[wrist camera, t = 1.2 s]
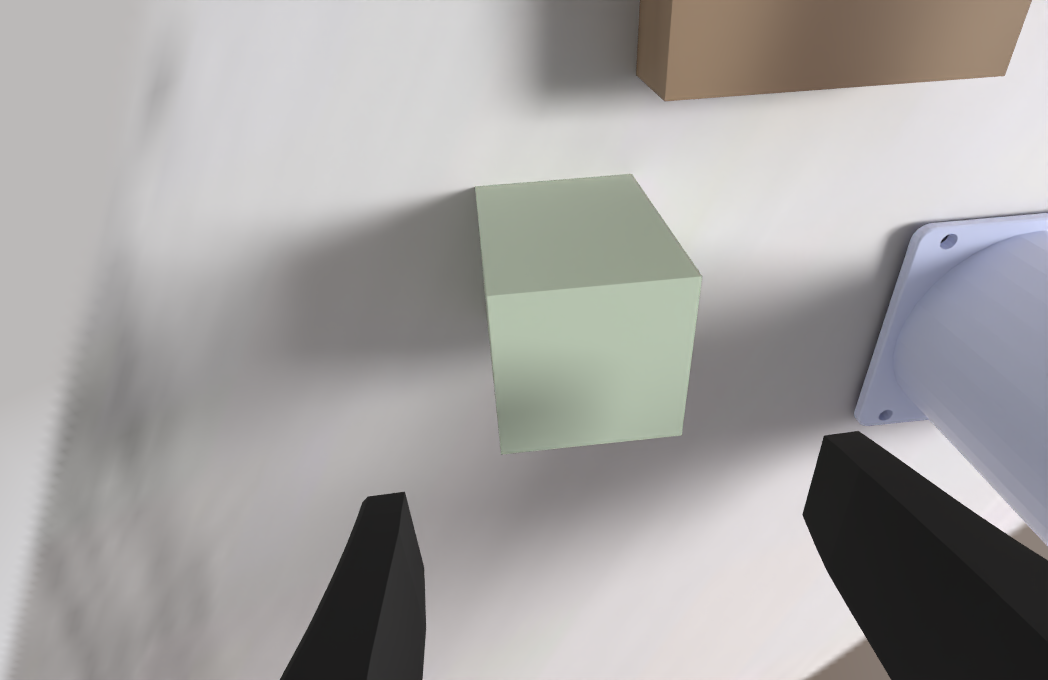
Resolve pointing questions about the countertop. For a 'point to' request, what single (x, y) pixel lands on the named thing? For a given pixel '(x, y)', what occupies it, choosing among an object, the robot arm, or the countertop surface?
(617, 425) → the sage block
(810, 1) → the walnut block
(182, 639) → the countertop surface
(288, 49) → the countertop surface
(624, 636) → the countertop surface
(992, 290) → the robot arm
